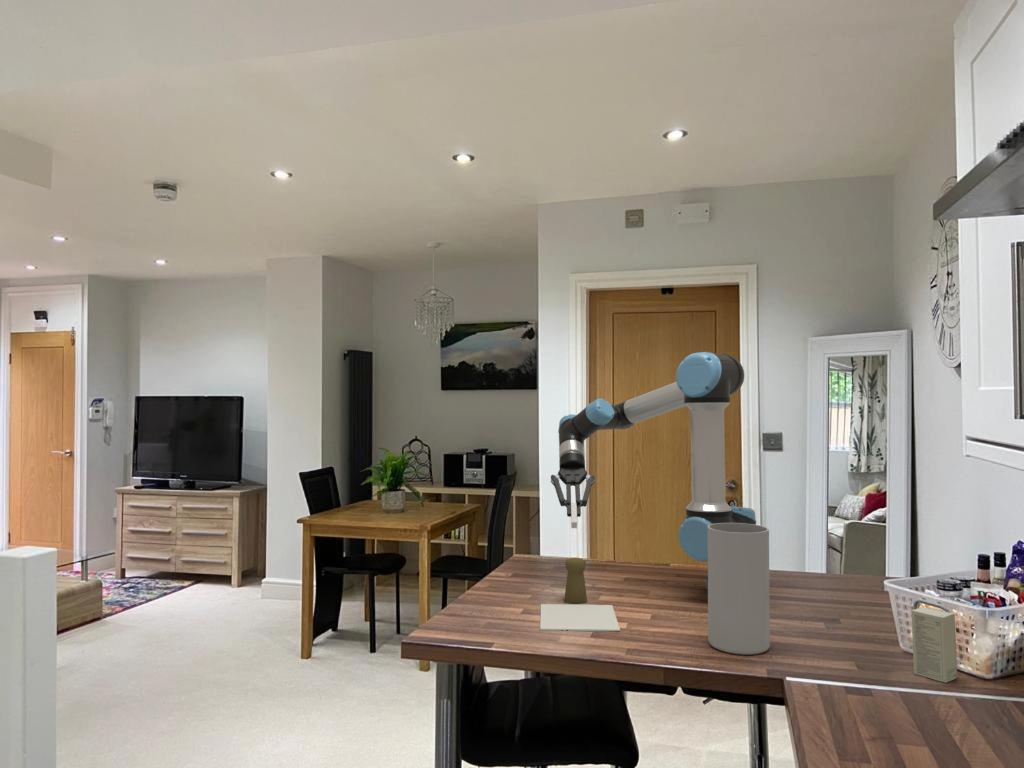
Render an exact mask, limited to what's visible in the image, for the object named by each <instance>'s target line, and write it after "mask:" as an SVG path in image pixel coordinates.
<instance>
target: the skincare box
mask: <svg viewBox="0 0 1024 768" xmlns="http://www.w3.org/2000/svg"><path fill="white" fill-rule="evenodd" d="M955 616H956V615H955V613H954V612H950V611H944V610H941V609H935V608H929V607H927V606H926V607H925V606H922V607H921V606H920V607H918V608H914V609H912V610H911V629H912V630H911V632H912V660H913V663H912V664H913V674H916V675H919V676H921V677H925V678H928V679H930V680H934V681H938V682H941V683H949V682H952V681H953V680H956V679H957V678H958V667H957V665H958V664H957V642H956V641H957V640H956V639H957V638H956V620H955V619H956V617H955Z"/></svg>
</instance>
